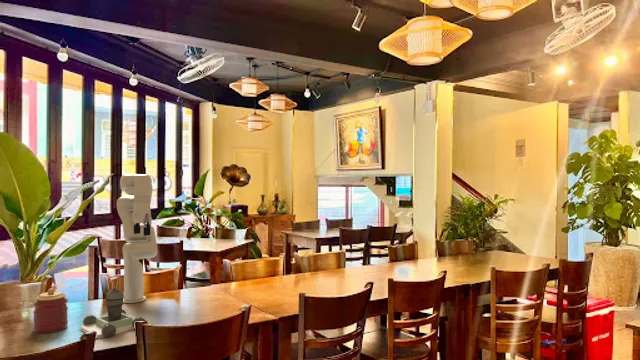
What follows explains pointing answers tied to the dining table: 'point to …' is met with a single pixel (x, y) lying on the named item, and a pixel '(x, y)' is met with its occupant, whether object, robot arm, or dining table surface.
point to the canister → (50, 312)
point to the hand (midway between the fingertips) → (141, 234)
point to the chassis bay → (109, 324)
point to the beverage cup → (114, 304)
